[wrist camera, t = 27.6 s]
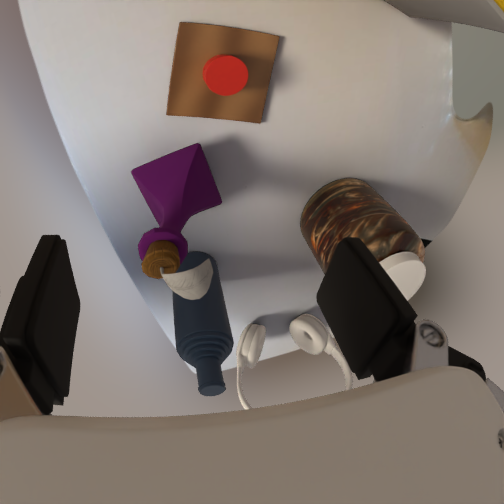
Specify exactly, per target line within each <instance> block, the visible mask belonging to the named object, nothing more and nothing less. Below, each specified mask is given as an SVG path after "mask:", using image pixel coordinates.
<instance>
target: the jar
mask: <svg viewBox="0 0 504 504" xmlns="http://www.w3.org/2000/svg"><path fill="white" fill-rule="evenodd" d="M300 227H301V232H302V235H303V237H304V239H305V240H306V242H307V244H308V246H309V248H310V249H311V251H312V253H313V255H314V256H315V258H316V260H317V262H318V264H319V265H320V267H321V269H322V271H323V272H324V274H326V271H327V269H328V266H329V264H330V262H331V259H332V257H333V254H334V252H335V249H336V247H337V244H338V242H340V241H342V239H343V238H345V237H358V238H360V239H361V240H362V241H363V243H364V244H365V245H366V246H367V248H368V249H369V250H370V251H371V253H372V254H373V255H374V257H375V258H376V259H377V260H378V262H379V263H380V264H381V266H382V267H383V268H384V270H385V271H386V272H387V274H388V275H389V276H390V278H391V279H392V280H393V282H394V283H395V284H396V286H397V287H398V289H399V290H400V291H401V293H402V294H403V296H404V297H405V298H406V300H407V301H408V300H409V299H410V298H411V297H412V296H413V295H414V294H415V293H416V292H417V290H418V289H419V288H420V286H421V284H422V282H423V280H424V278H425V274H426V268H425V266H424V264H423V261H424V256H425V249H424V245H423V242H422V241H421V239H420V238H419V236H418V235H417V234H416V232H415V231H414V230H413V229H412V228H411V227H410V225H409V224H408V223H407V222H406V221H405V220H404V219H403V218H402V217H401V216H400V215H399V214H398V213H397V212H396V211H395V210H394V209H393V208H392V207H391V206H390V205H389V204H388V203H387V202H386V201H385V200H384V199H383V198H382V197H381V196H380V195H379V194H378V193H377V192H376V191H375V190H374V189H373V188H372V187H370V186H369V185H368V184H367V183H365V182H364V181H361V180H359V179H354V178H345V179H340V180H336V181H334V182H331V183H329V184H327V185H325V186H324V187H322V188H321V189H320V190H318V191H317V192H316V193H315V194H314V195H313V196H312V197H311V198H310V200H309V201H308V203H307V204H306V206H305V208H304V210H303V212H302V216H301V221H300Z"/></svg>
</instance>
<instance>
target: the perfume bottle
mask: <svg viewBox="0 0 504 504" xmlns="http://www.w3.org/2000/svg"><path fill="white" fill-rule="evenodd" d="M131 173H132V175H133V177H134V179H135V181H136V183H137V185H138V187H139V189H140V191H141V193H142V195H143V197H144V198H145V200H146V202H147V204H148V206H149V208H150V210H151V211H152V213H153V215H154V217H155V219H156V221H157V222H158V224H159V226H160V227H159V228H153V229H151V230H150V231H148V232H146V233H144V234H143V236H142V238H141V240H140V242H139V244H138V250H139V256H140V259H141V260H142V261H143V262H142V264H141V265H142V270H143V272H144V273H145V274H146V275H147V276H148V277H152V278H156V279H160V278H164V280H165V282H166V284H167V285H168V286H169V287H170V288H171V289H172V290H173V291H174V292H175V293H177V294H178V295H180V296H181V297H183V298H185V299H190V300H195V299H200V298H201V297H202V296H204V295H205V294H206V293H207V291H208V289H209V286H210V283H211V279H212V275H213V269H212V265H211V262H210V259H209V258H208V259H207V260H206V261H204V262H203V263H202V264H200V265H199V266H197V267H195V268H193V269H190V270H187V271H184V272H179V273H176V271H177V270H178V268H179V267H180V264H182V262H183V260H184V259H185V257H186V256H187V254H188V243H187V240H186V239H185V238H184V237H183V235H182V234H181V231H182V229H183V227H184V225H185V224H186V222H187V221H188V219H189V218H190V217H191V216H193V215H195V214H197V213H199V212H201V211H204V210H207V209H209V208H212V207H215V206H217V205H220V204H221V203H222V199H221V197H220V194H219V192H218V189H217V186H216V184H215V181H214V179H213V176H212V174H211V171H210V168H209V166H208V163H207V161H206V158H205V155H204V153H203V150H202V148H201V145H200V144H199V143H196V144H193V145H191V146H188V147H185V148H183V149H180V150H178V151H175V152H173V153H170V154H168V155H165V156H163V157H161V158H158V159H156V160H153V161H151V162H149V163H146V164H144V165H142V166H140V167H137V168H135V169H133V170H132V171H131Z"/></svg>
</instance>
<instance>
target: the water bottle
mask: <svg viewBox="0 0 504 504" xmlns="http://www.w3.org/2000/svg"><path fill="white" fill-rule="evenodd" d="M208 258H209V259H210V262H211V265H212V269H213V275H212V279H211V283H210V286H209V289H208V291H207V293H206V294H205V295H204V296H202V297H201V298H200V299H195V300H190V299H185V298H183V297H181V296H180V295H178V294H177V293H175V292H174V291H173V290H172V292H173V310H174V325H175V339H176V350H177V352H178V354H179V355H180V357H181V358H182V359H183V360H184V361H186V362H187V363H189V364H190V365H192V366H194V367H195V368H196V371H197V378H198V385H199V387H198V390H199V392H200V394H202V395H204V396H215V395H219V394H221V393H223V392H224V391H225V390H226V388H225V383H224V381H223V376H222V371H221V364H222V362H224V360H225V359H226V358H227V357H228V356H229V355H230V353H231V352H232V348H233V344H234V342H233V337H232V333H231V328H230V324H229V319H228V315H227V310H226V305H225V301H224V296H223V291H222V287H221V282H220V277H219V272H218V267H217V263H216V261H215V260H214V259H213V258H212V257H211V256H210V255H208V254H206V253H203V252H189V253H188V254H187V256H186V257H185V259H184V260H183V262H182V264H180V267H179V268H178V270H177V271H176V273H179V272H184V271H187V270H190V269H193V268H195V267H197V266H199V265H200V264H202V263H203V262H204V261H206V260H207V259H208Z"/></svg>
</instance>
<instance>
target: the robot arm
mask: <svg viewBox="0 0 504 504" xmlns="http://www.w3.org/2000/svg"><path fill="white" fill-rule="evenodd" d="M317 302H318V305H319V307H320V309H321V311H322V313H323V315H324V317H325V319H326V321H327V323H328V325H329V327H330V329H331V331H332V333H333V335H334V337H335V339H336V341H337V343H338V344H339V347H340V349H341V351H342V353H343V355H344V357H345V359H346V361H347V363H348V365H349V367H350V369H351V371H352V372H353V373H355V374H356V376H357V378H358V380H360V379H364V378H367V377H370V376H371V375H373V376H374V381H373V383H372V384H369V385H366V386H362V387H358V388H354V389H350V390H346V391H342V392H338V393H334V394H329V395H325V396H320V397H315V398H311V399H306V400H301V401H296V402H290V403H285V404H280V405H273V406H267V407H260V408H253V409H246V410H239V411H231V412H221V413H212V414H201V415H188V416H169V417H82V416H54V415H52V414H51V412H52V411H53V405H63V402H64V397H67V396H68V394H69V386H70V376H71V367H72V358H73V351H74V343H75V337H76V330H77V324H78V318H79V313H80V299H79V296H78V292H77V288H76V284H75V281H74V276H73V272H72V268H71V264H70V259H69V254H68V250H67V245H66V241H65V240H64V239H61V238H60V236H59V235H43V236H42V237H41V239H40V241H39V243H38V245H37V247H36V249H35V252H34V254H33V256H32V258H31V261H30V263H29V265H28V268H27V270H26V272H25V275H24V276H22V277H21V278H20V279H19V281H18V283H17V286H16V288H15V291H14V294H13V296H12V299H11V302H10V305H9V307H8V310H7V313H6V316H5V319H4V322H3V325H2V328H1V331H0V504H504V392H503V391H502V390H501V389H500V388H499V387H498V386H497V385H496V384H494V383H493V382H492V381H491V380H490V379H489V378H487V379H486V376H485V372H484V370H483V367H482V365H481V364H480V363H479V362H477V361H476V360H474V359H472V358H470V357H468V356H466V355H465V354H463V353H461V352H459V351H457V350H455V349H453V348H451V347H449V346H448V339H447V336H446V334H445V332H444V330H443V329H442V328H441V327H440V326H439V325H438V324H436V323H435V322H433V321H430V320H425V319H423V320H420V321H419V322H418V323H417V324H415V323H414V320H415V318H416V317H417V314H416V313H415V311H414V310H413V308H412V307H411V305H410V304H409V303H408V301H407V300H406V298H405V297H404V296H403V294H402V293H401V291H400V290H399V289H398V287H397V286H396V284H395V283H394V282H393V280H392V279H391V278H390V276H389V275H388V274H387V272H386V271H385V270H384V268H383V267H382V266H381V264H380V263H379V262H378V260H377V259H376V258H375V257H374V255H373V254H372V253H371V251H370V250H369V249H368V248H367V246H366V245H365V244H364V243H363V241H362V240H361V239H360V238H358V237H345V238H343V239H342V241H340V242H338V244H337V247H336V249H335V252H334V254H333V257H332V259H331V262H330V264H329V266H328V269H327V271H326V274H325V276H324V278H323V281H322V283H321V285H320V288H319V290H318V292H317Z"/></svg>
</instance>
